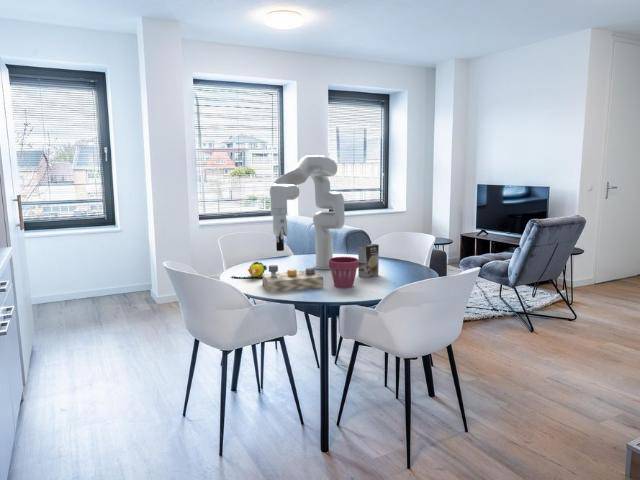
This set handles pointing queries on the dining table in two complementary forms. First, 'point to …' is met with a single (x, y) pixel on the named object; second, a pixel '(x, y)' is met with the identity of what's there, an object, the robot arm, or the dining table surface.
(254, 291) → the dining table surface
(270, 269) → the knob
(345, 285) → the plant pot
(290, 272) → the knob mid
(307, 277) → the console
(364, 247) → the coffee box
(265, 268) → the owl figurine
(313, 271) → the knob
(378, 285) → the dining table surface
